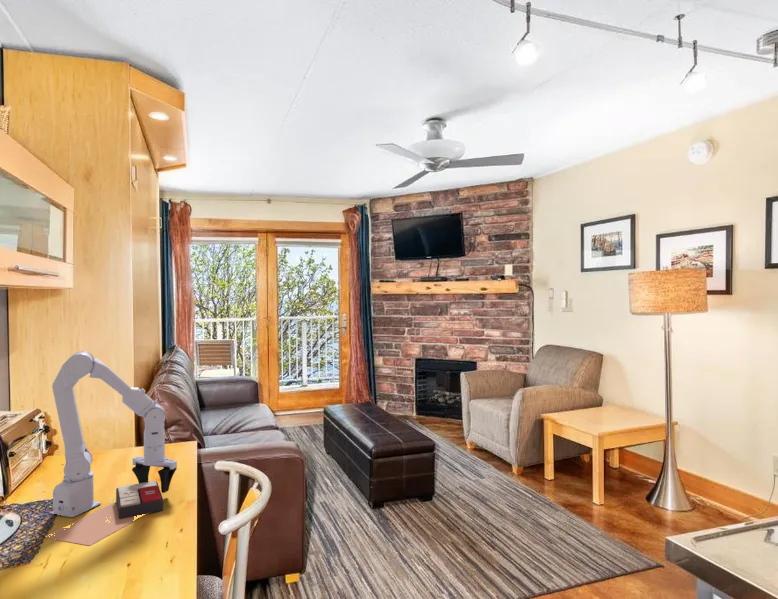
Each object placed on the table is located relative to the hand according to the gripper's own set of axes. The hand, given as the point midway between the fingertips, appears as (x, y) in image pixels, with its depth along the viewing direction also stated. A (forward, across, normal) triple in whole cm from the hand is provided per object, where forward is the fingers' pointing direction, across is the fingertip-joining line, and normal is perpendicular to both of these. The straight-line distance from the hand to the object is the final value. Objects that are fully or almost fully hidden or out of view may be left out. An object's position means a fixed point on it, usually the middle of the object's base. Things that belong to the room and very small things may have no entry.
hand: (154, 490), depth 151 cm
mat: (+2, 0, +19) cm, 19 cm away
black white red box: (+2, -1, +7) cm, 8 cm away
